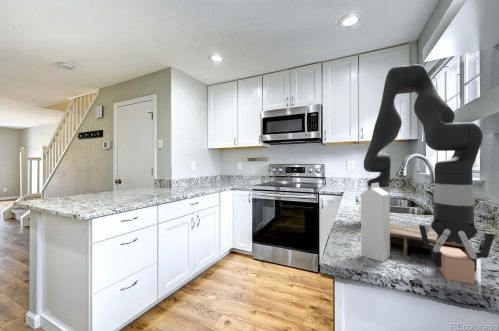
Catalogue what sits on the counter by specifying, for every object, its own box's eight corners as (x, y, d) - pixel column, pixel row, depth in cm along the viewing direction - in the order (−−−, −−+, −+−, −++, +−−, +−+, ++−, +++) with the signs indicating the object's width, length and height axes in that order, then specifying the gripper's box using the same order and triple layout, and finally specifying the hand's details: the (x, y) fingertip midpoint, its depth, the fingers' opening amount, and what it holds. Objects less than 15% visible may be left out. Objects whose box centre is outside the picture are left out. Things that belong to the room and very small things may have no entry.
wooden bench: (382, 240, 79) (382, 223, 79) (460, 253, 67) (460, 233, 67) (378, 250, 70) (378, 231, 70) (468, 268, 57) (468, 244, 57)
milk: (361, 256, 66) (359, 183, 66) (369, 250, 70) (367, 181, 70) (383, 262, 61) (382, 184, 61) (390, 256, 65) (389, 182, 65)
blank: (435, 262, 61) (434, 244, 61) (459, 266, 58) (458, 248, 58) (446, 279, 52) (445, 258, 52) (474, 284, 50) (474, 262, 50)
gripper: (489, 202, 54) (490, 271, 54) (416, 197, 62) (416, 257, 62) (500, 207, 48) (500, 284, 48) (417, 201, 56) (417, 266, 56)
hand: (453, 268), depth 55 cm, fingers closed on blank, 5 cm apart
